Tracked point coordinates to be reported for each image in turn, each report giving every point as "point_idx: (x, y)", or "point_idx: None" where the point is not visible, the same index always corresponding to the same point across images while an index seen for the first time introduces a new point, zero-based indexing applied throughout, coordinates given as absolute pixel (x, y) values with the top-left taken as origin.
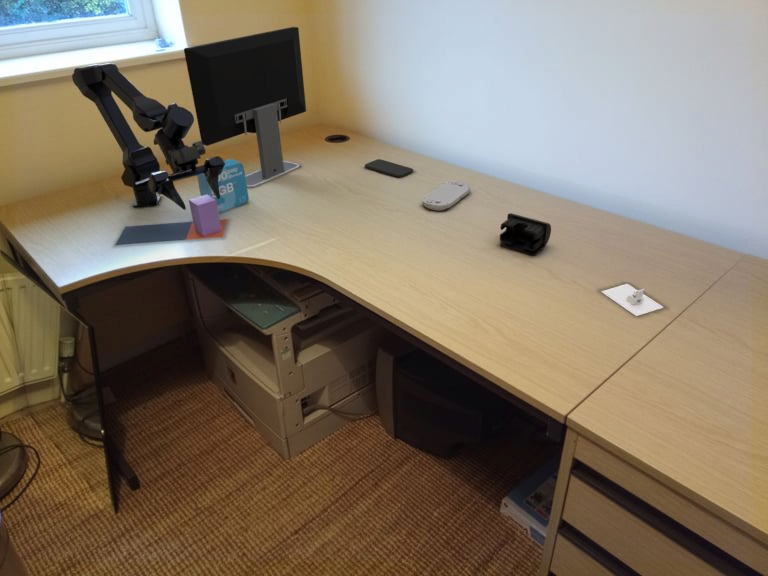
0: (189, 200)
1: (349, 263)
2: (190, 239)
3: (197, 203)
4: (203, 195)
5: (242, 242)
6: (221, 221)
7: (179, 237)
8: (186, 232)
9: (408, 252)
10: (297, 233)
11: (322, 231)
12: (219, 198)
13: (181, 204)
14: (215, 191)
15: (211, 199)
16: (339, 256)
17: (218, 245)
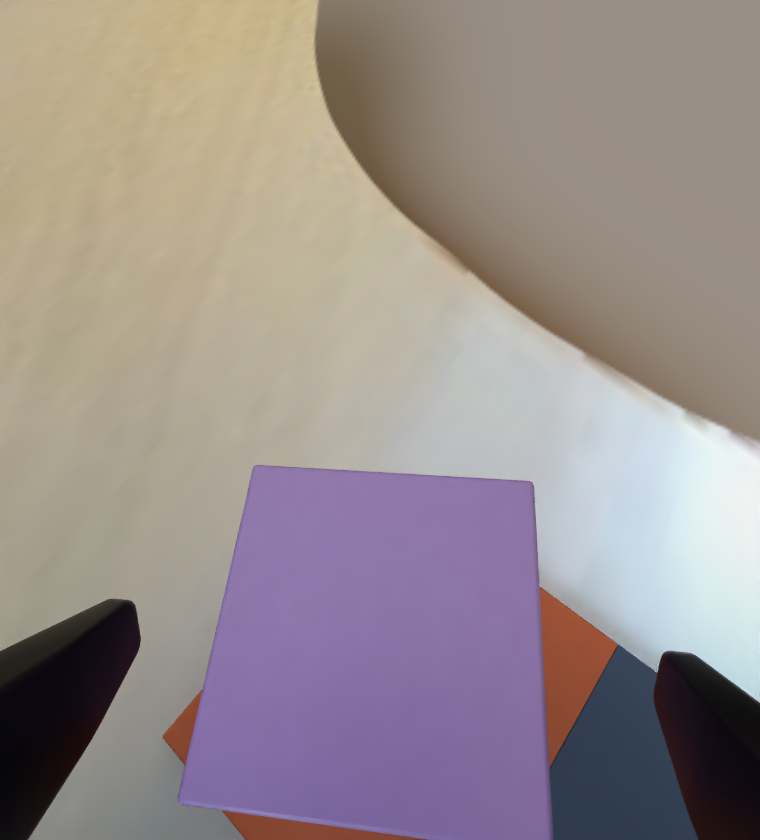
0: (549, 803)
1: (211, 38)
2: (582, 618)
3: (499, 549)
4: (248, 801)
5: (339, 351)
6: None
7: (652, 735)
8: (560, 790)
9: (66, 8)
10: (107, 258)
11: (40, 211)
12: (126, 619)
13: (754, 702)
14: (51, 697)
15: (280, 523)
16: (190, 71)
17: (459, 411)
